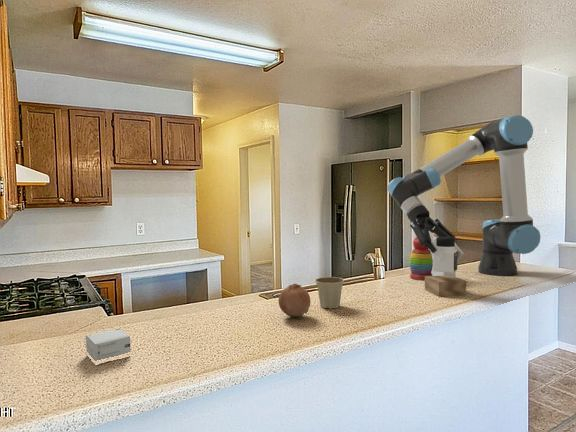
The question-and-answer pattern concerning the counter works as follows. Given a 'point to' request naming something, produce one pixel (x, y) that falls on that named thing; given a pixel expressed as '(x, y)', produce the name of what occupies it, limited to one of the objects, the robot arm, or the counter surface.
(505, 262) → the robot arm
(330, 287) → the flower pot
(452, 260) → the medicine bottle
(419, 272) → the stacking bear
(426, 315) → the counter surface
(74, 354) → the counter surface
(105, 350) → the small box
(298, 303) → the onion
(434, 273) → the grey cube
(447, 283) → the walnut block
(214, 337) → the counter surface
